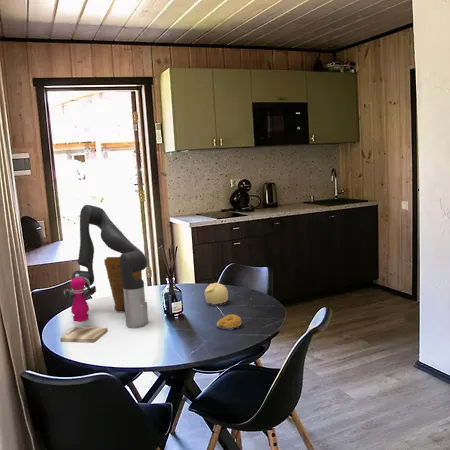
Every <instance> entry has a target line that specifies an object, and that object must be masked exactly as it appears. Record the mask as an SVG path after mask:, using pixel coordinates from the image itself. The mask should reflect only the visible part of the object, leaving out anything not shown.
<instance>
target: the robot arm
mask: <svg viewBox="0 0 450 450" xmlns="http://www.w3.org/2000/svg"><path fill="white" fill-rule="evenodd" d="M80 209H81V210H80V213H79V239H80V240H79V252H78V258H77V259H78V260H77V264H78V265H79V266H82V267H84V268H86V269H87V270H75V271H73V273H72V274H71V280H72V279H74V278H76V277H75V275H76V274H79V277H81V278H83V279H84V280H85V286H84V290H85V291H84V298H85V299H87V298H88V297H89V295H90V296H92V295H94V294H95V293H97V288H96V285H93V284H94V282H95V274H94V269H93V267H94V266H93V264H94V256H95V245H94V243H93V240H92V237H91V233H90V225H93V226H96V227H97V228H99V229H100V230H101V231H100V238H101V240H102V242H103V243H104V244H105V245H106V246H107V247H108V249H110V250H111V251H114V252H118V253H120V256H119V257H120V260H119V263H120V271H121V279H122V283H123V291H124V305H125V312H124V317H125V327H128V328H132V329H133V328H140V327H141V328H142V327H145V326H146V325H147V324H148V323H149V314H148V310H149V309H148V302H147V301H146V294H145V282H144V279H143V278H142V279H138V278H134V277H133V274H132V273H133V272H138V271H144V270H145V269H146V268H147V266H148V259H147V258H146V256H145V253H143V252H142V250H140V248H138V247H137V246H136V245H135V244H133V243H132V242H131V241H130V240H129V239H128V237H126V236H125V234H124V233H123V232H122V231H121V230H120V229H119V228H118V227H117V226H116V224H114V222H113V221H112V220H111V219H110V217H109V215H107V214H108V213H106V211H105V210H104V209H103V208H101V207H99V206H97V205H96V206H95V205H90V204H85V205H83V207H82V208H80ZM72 289H73V288H72V287H70V289H68V288H64V289H63V295H64V296H65V298H69V299H71V300H74V293H72V292H73V291H72Z"/></svg>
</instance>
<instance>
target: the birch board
mask: <svg viewBox="0 0 450 450" xmlns="http://www.w3.org/2000/svg"><path fill="white" fill-rule="evenodd" d="M108 332H109V329H108V327H79V326H77V327H74V328H73V329H71V330H70V331H68V332H67V333H65V334H64V335H63V336H61V337H60V342H63V343H65V342H66V343H67V342H68V343H69V342H70V343H96V342H97V340H99V339H100V338H101V337H103V336H104V335H105V334H107V333H108Z"/></svg>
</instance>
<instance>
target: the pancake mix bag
mask: <svg viewBox="0 0 450 450" xmlns="http://www.w3.org/2000/svg"><path fill="white" fill-rule="evenodd" d="M119 260H120V256H108V257H106V258H105V259H104V261H103V262H104V265H105V270H106V274H107V279H108V283H109V286H110V291H111V294H112V298H113V302H114V311H116V312H117V313H125V305H124V291H123V283H122V279H121V271H120V263H119ZM142 271H143V270H142ZM142 271H138V272H133V273H132V274H133V277H134V278H138V279H142V280H143V278H142V277H143V275H142Z"/></svg>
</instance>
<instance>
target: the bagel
mask: <svg viewBox="0 0 450 450" xmlns="http://www.w3.org/2000/svg"><path fill="white" fill-rule="evenodd" d="M242 322H243V321H242V318H241V317H240V316H239V315H237V314H234V313H233V314H231V313H230V314H227V315H225V316H223V317H222V318H220V319H219V320H218V321H217V322H216V325H217V326H218V327H223V328H232V327H237V326H241V325H242ZM216 325H215V326H216ZM217 326H216V327H217ZM218 327H217V328H218Z"/></svg>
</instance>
